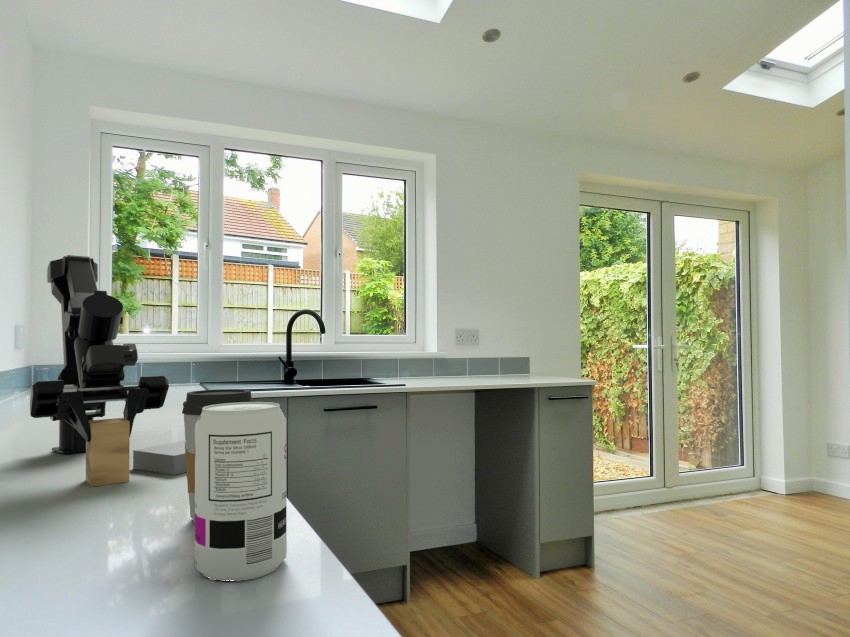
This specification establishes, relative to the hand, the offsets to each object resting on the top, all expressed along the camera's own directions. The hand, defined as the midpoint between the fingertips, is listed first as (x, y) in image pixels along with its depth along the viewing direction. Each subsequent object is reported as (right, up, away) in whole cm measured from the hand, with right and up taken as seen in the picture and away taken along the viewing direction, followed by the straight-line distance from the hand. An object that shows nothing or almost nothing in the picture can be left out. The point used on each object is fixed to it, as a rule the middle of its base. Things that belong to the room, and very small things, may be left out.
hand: (109, 437), depth 87 cm
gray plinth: (+6, -7, +11) cm, 14 cm away
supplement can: (+30, -6, -32) cm, 45 cm away
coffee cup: (+23, -6, -18) cm, 29 cm away
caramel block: (-1, -7, +1) cm, 7 cm away
